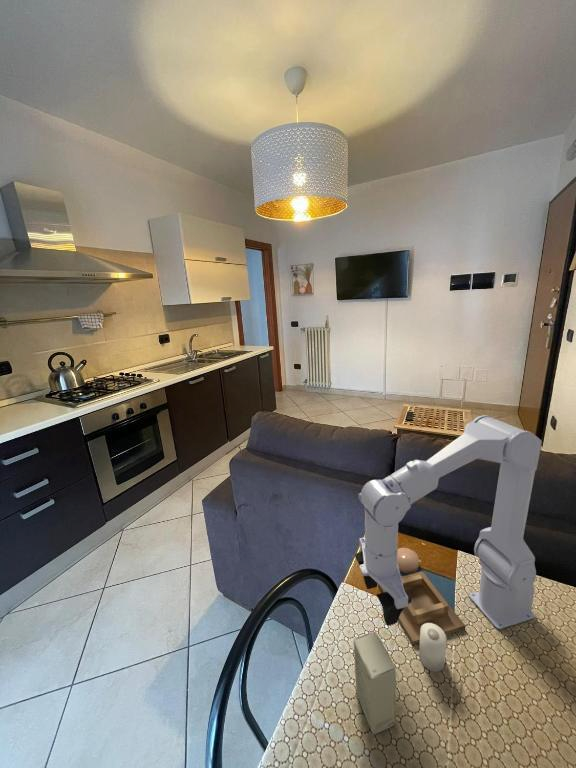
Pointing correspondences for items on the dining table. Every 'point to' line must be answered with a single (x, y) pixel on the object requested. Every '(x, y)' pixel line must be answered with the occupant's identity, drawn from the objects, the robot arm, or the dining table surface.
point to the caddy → (425, 608)
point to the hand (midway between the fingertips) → (380, 603)
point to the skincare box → (375, 682)
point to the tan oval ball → (407, 560)
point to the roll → (432, 647)
